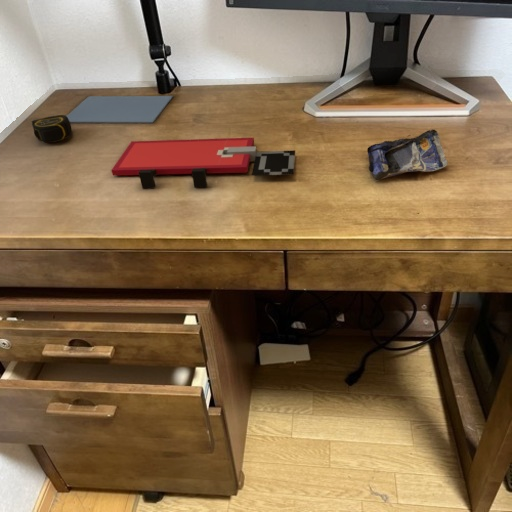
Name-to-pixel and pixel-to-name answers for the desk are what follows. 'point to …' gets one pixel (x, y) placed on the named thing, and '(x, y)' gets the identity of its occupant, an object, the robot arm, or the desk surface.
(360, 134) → the desk surface
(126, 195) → the desk surface
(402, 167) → the snack package
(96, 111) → the cloth
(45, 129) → the tape measure
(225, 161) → the red board with handle
